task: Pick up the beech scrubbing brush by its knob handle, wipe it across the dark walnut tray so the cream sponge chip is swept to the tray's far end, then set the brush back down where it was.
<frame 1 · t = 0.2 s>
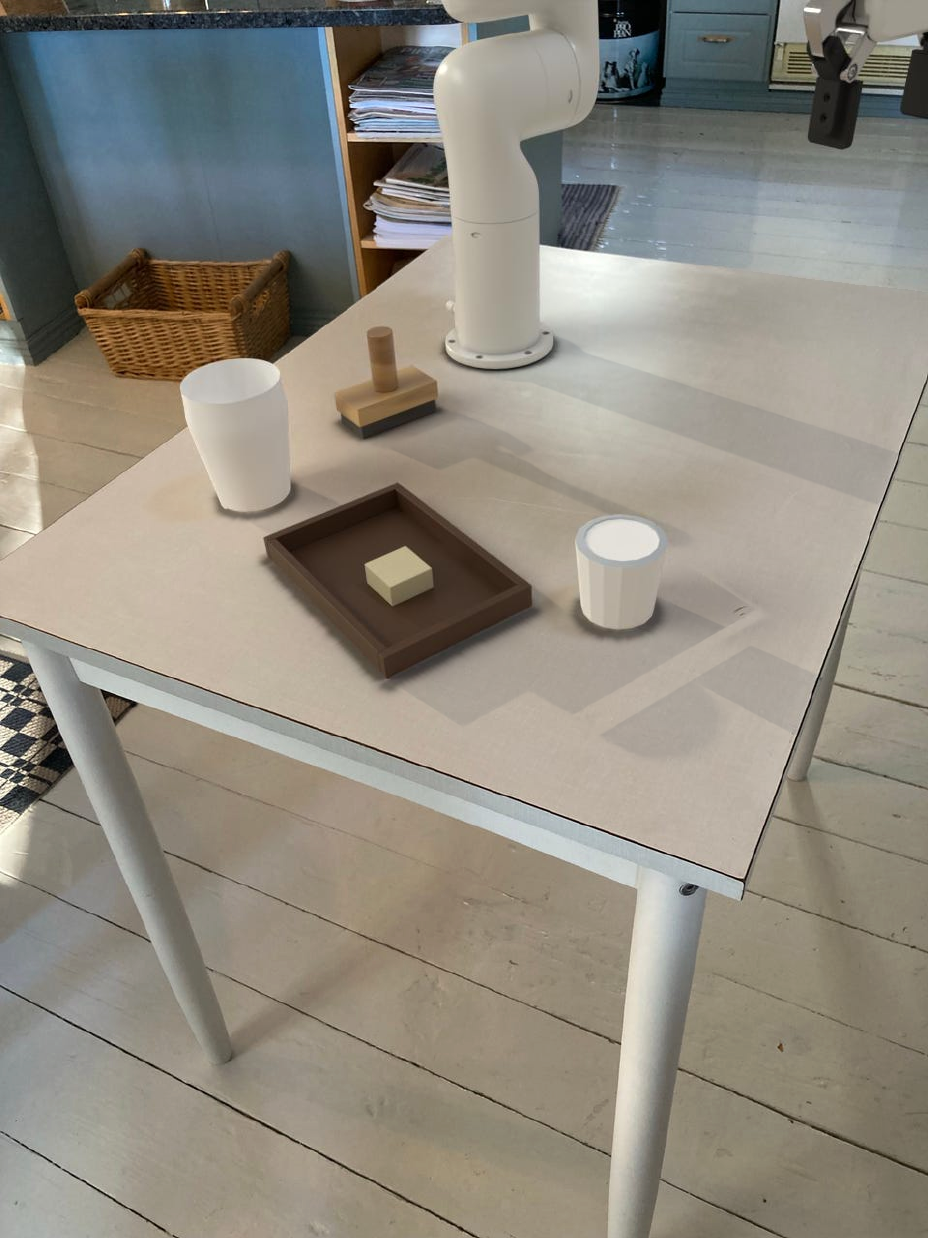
hand: (876, 130, 68), 31 cm above the table, tool pointing down, fingers open, 9 cm apart
cup: (256, 498, 94), on the table
sponge chip: (400, 585, 81), point 1 cm above the table, touching tray
tray: (394, 585, 83), on the table
brush: (389, 416, 105), on the table
white tapered tub: (617, 613, 79), on the table
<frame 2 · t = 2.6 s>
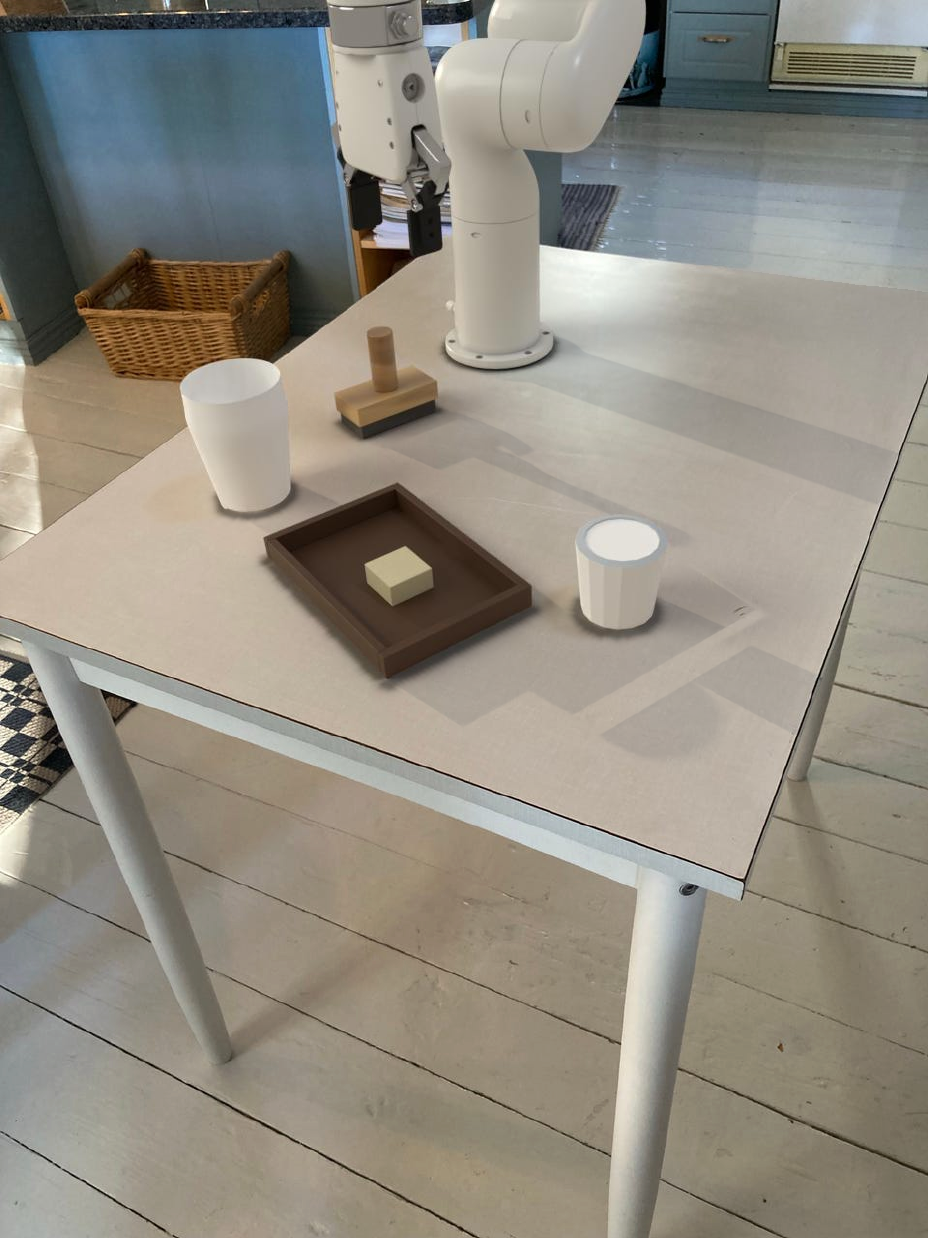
hand: (396, 239, 91), 19 cm above the table, tool pointing down, fingers open, 9 cm apart
nothing on the table moved.
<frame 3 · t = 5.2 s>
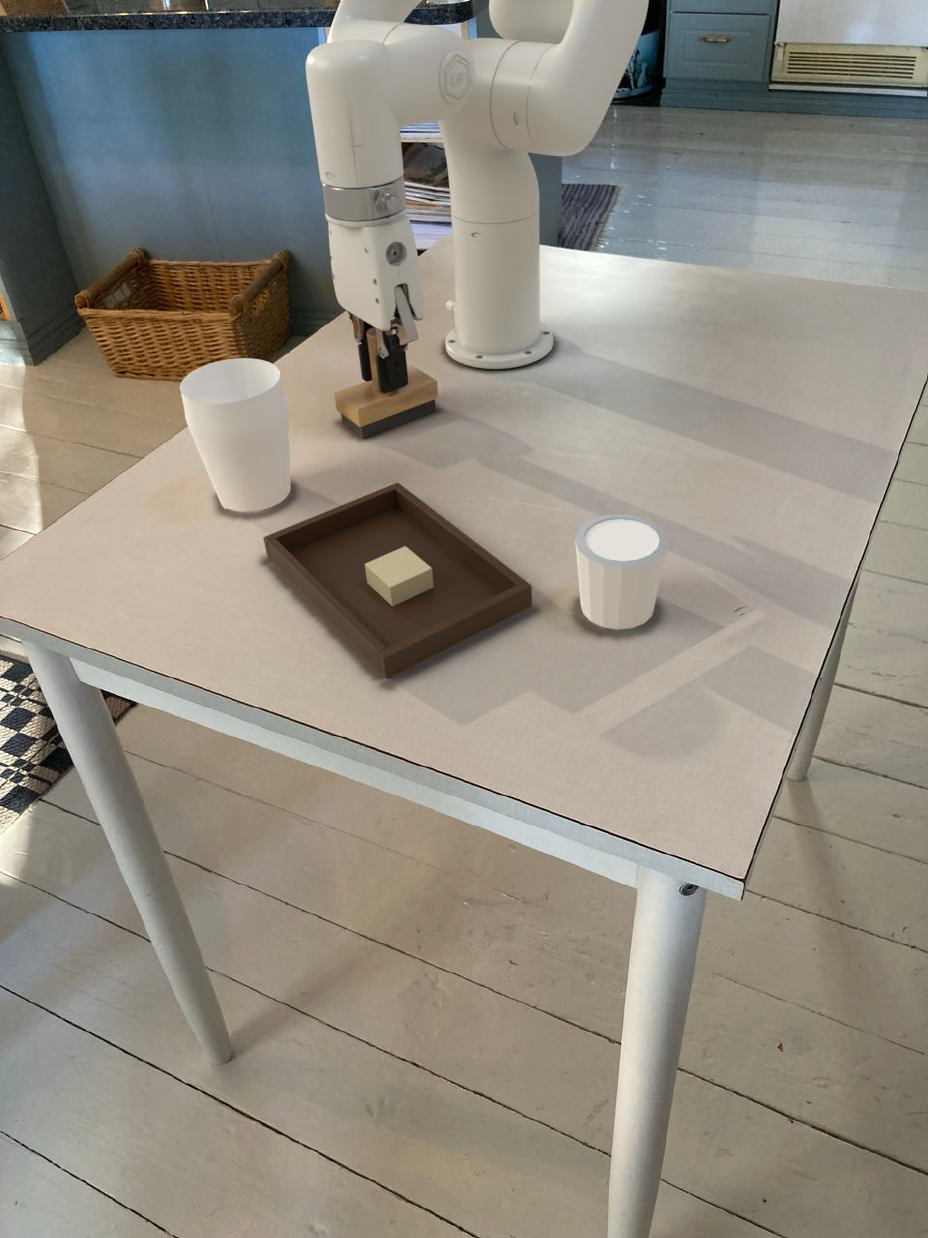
hand: (385, 381, 102), 4 cm above the table, tool pointing down, fingers closed on brush, 2 cm apart
brush: (389, 416, 105), on the table, touching gripper
everything else where it was.
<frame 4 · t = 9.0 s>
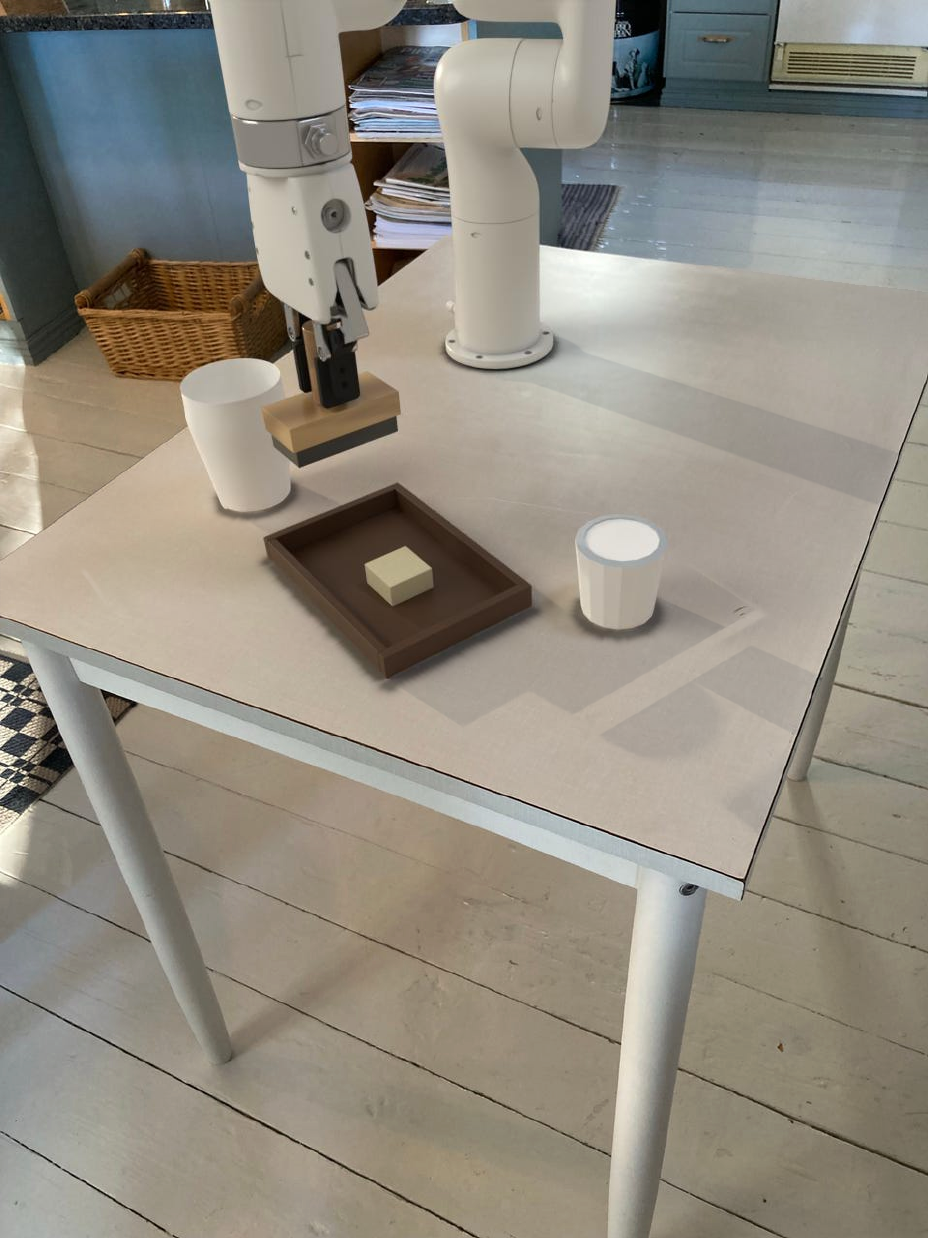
hand: (329, 392, 77), 15 cm above the table, tool pointing down, fingers closed on brush, 2 cm apart
brush: (336, 438, 79), point 11 cm above the table, touching gripper
everything else where it was.
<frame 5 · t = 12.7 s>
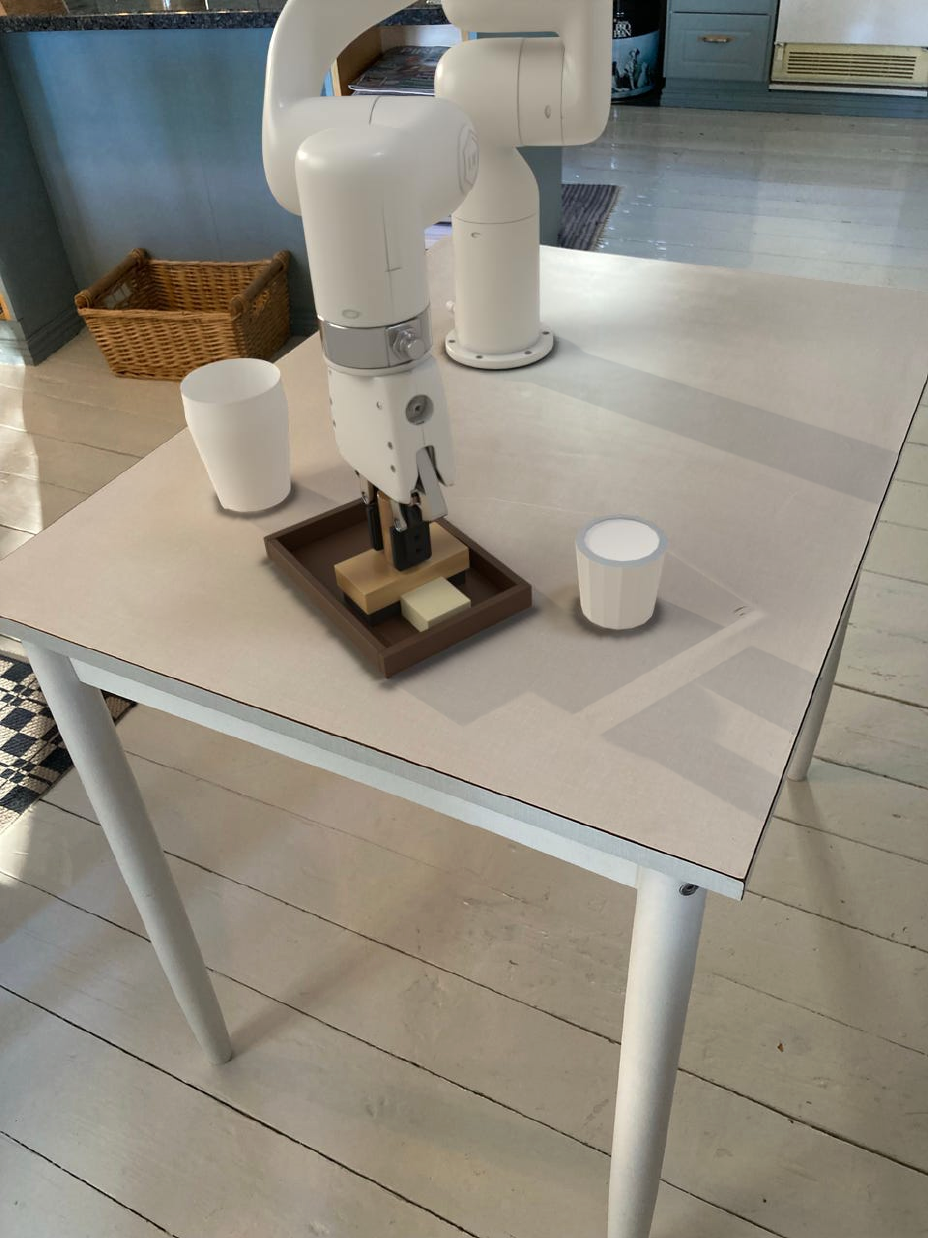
hand: (401, 551, 78), 5 cm above the table, tool pointing down, fingers closed on brush, 2 cm apart
sponge chip: (436, 617, 78), point 1 cm above the table, touching brush, tray
brush: (405, 591, 81), point 1 cm above the table, touching gripper, sponge chip, tray
everything else where it was.
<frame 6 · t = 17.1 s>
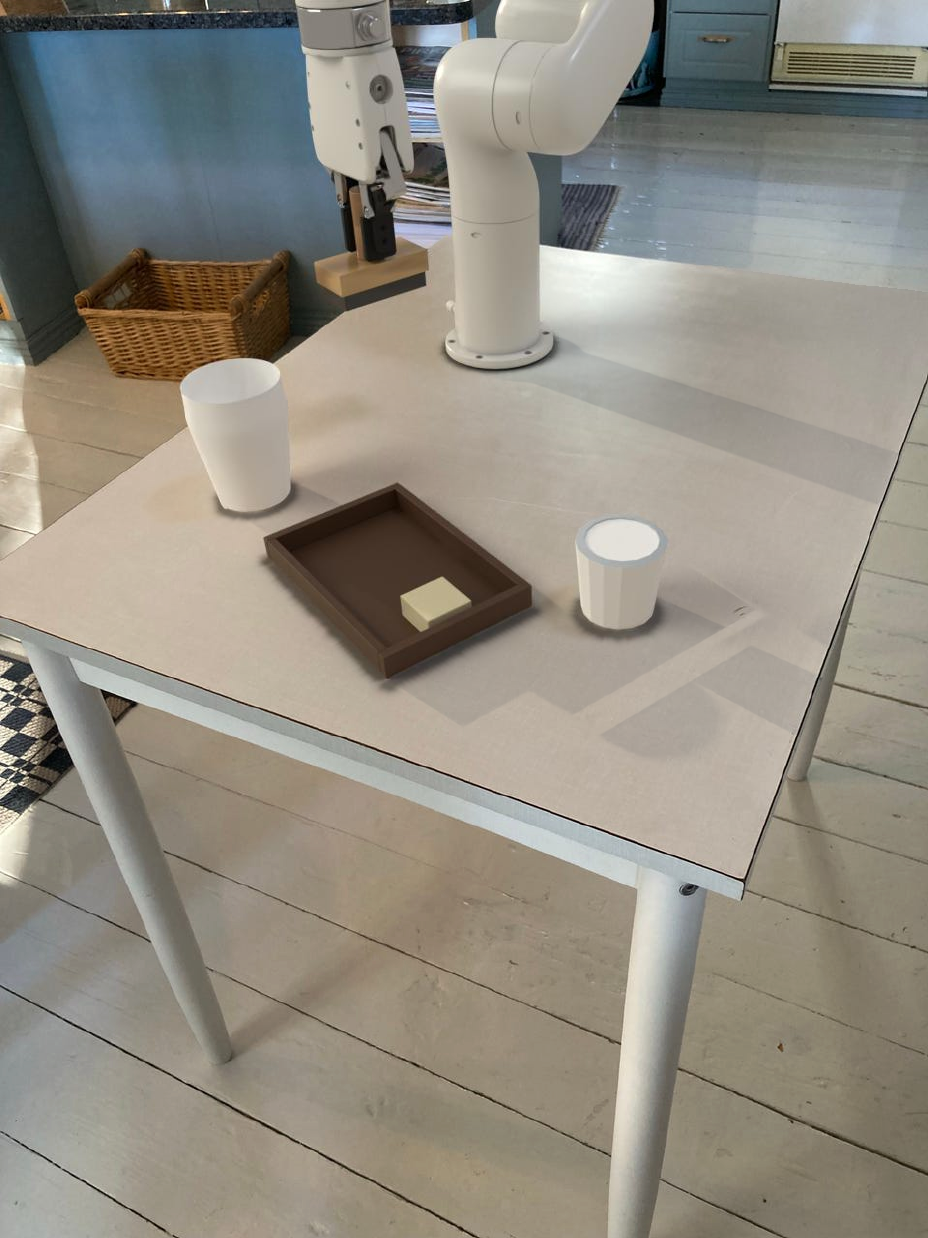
hand: (371, 251, 93), 18 cm above the table, tool pointing down, fingers closed on brush, 2 cm apart
sponge chip: (437, 617, 78), point 1 cm above the table, touching tray
brush: (375, 291, 95), point 14 cm above the table, touching gripper
everything else where it was.
when the fingers open (4 cm above the table, at t = 20.4 s): brush stays where it is, on the table.
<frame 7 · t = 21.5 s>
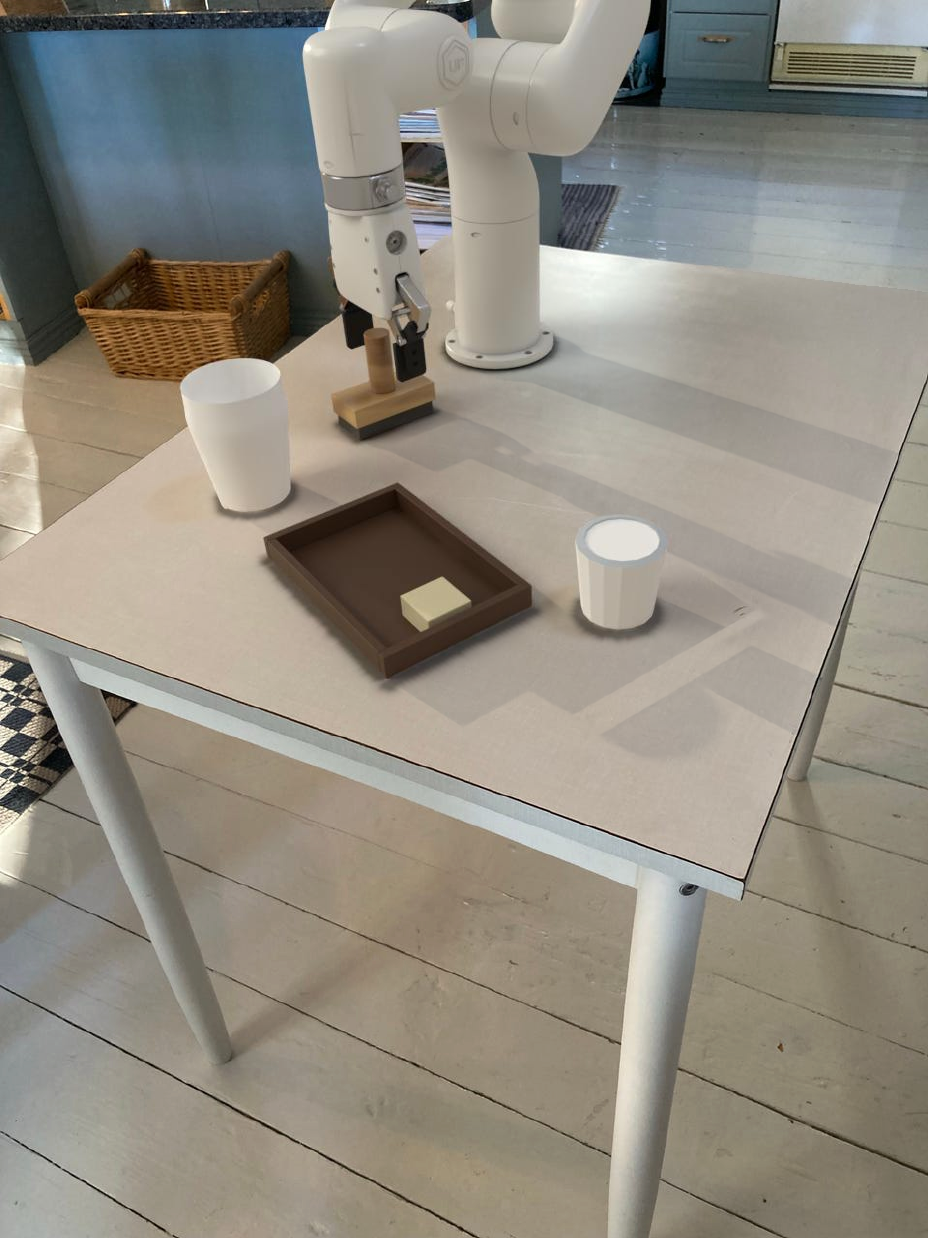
hand: (385, 360, 101), 6 cm above the table, tool pointing down, fingers open, 9 cm apart
brush: (386, 418, 105), on the table
everything else where it was.
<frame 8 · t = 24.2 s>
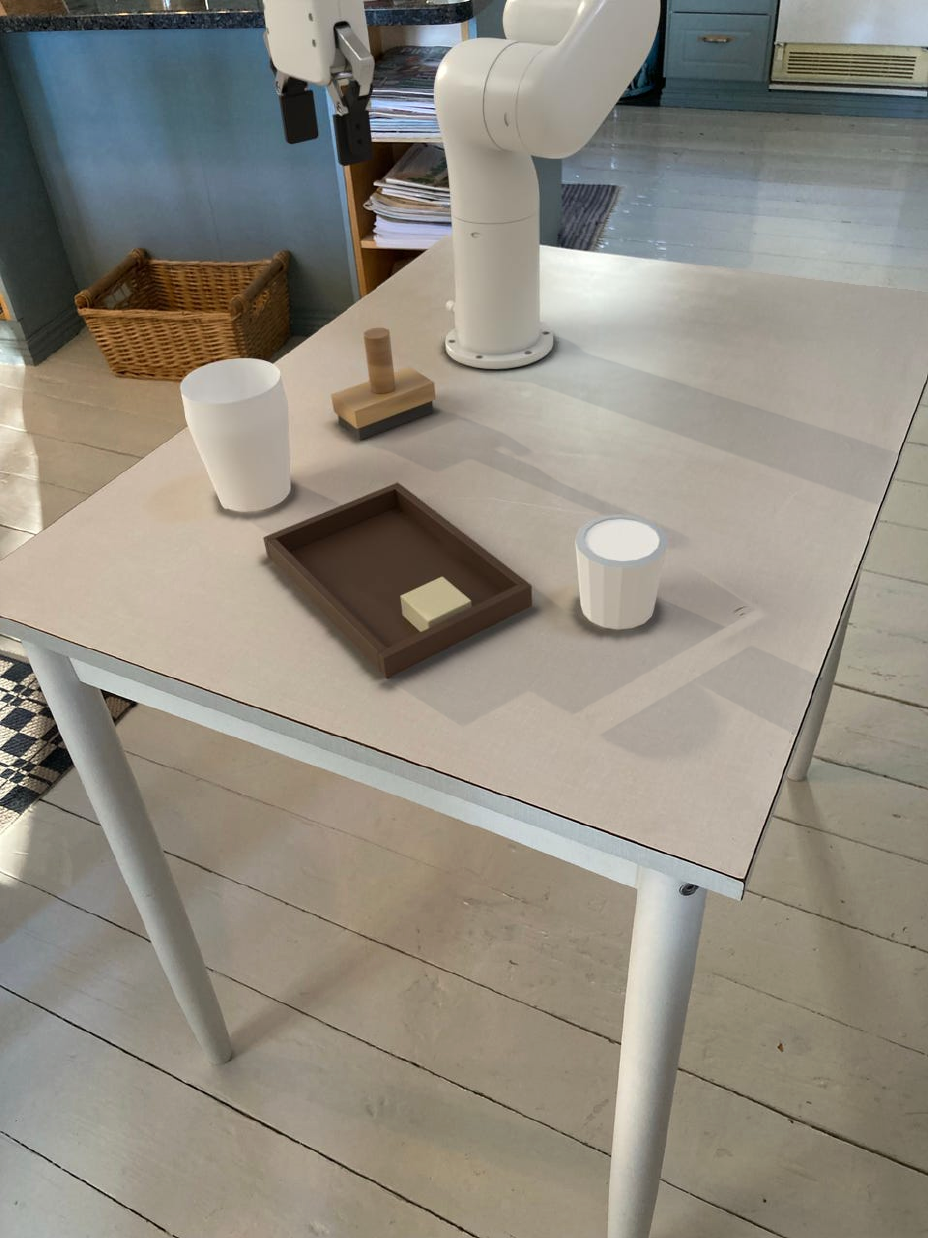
hand: (328, 151, 89), 26 cm above the table, tool pointing down, fingers open, 9 cm apart
nothing on the table moved.
at the end: sponge chip inside the target area in the tray (0.7 cm from its centre), point 0.6 cm above the tray's base; the gripper is holding nothing; brush inside the target area (0.4 cm from its centre), on the table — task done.
